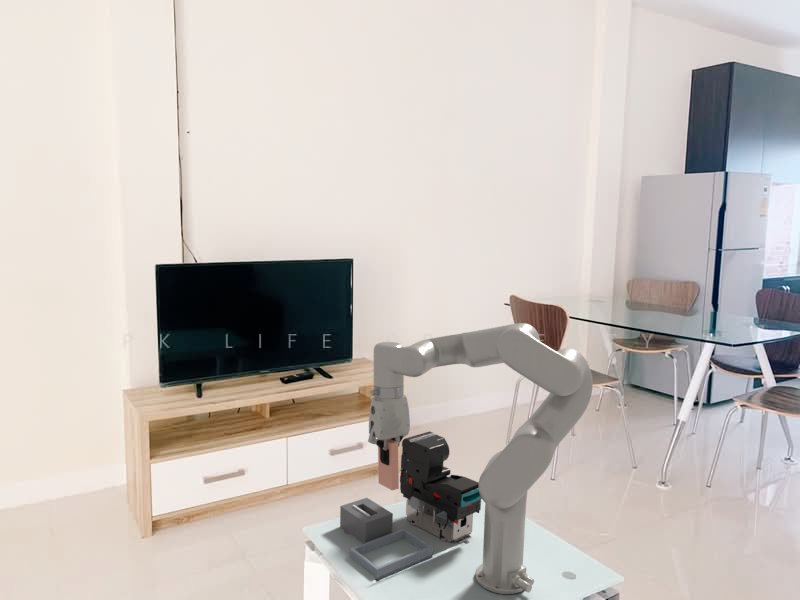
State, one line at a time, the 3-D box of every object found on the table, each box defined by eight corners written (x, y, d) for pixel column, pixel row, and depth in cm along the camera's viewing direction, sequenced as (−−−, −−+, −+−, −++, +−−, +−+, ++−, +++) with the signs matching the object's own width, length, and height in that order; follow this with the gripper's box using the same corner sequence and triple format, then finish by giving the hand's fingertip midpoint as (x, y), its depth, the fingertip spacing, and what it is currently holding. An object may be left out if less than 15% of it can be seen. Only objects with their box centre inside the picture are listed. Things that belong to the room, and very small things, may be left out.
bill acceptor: (457, 552, 157) (461, 460, 154) (397, 520, 173) (399, 437, 170) (483, 539, 164) (486, 450, 161) (422, 509, 180) (425, 429, 177)
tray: (432, 557, 154) (432, 546, 154) (376, 581, 143) (377, 569, 143) (403, 538, 163) (404, 528, 163) (349, 559, 152) (349, 548, 152)
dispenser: (392, 538, 163) (392, 512, 162) (365, 548, 158) (365, 521, 157) (366, 520, 173) (367, 496, 172) (340, 529, 167) (340, 504, 166)
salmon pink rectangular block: (398, 488, 152) (398, 442, 151) (392, 490, 150) (391, 443, 149) (384, 481, 156) (384, 436, 155) (378, 483, 155) (377, 437, 154)
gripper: (371, 400, 143) (371, 474, 145) (422, 389, 152) (422, 460, 154) (354, 393, 149) (354, 465, 151) (404, 384, 158) (404, 451, 160)
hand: (388, 462), depth 153 cm, fingers closed on salmon pink rectangular block, 1 cm apart
